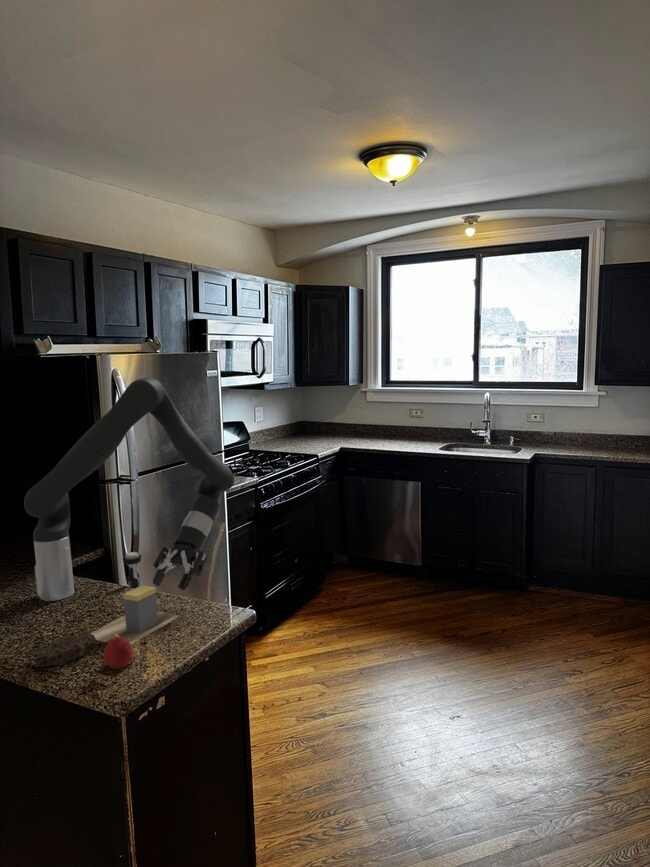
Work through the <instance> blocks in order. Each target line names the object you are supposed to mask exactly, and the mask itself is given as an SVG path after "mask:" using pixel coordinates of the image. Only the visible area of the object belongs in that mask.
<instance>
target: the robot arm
mask: <svg viewBox="0 0 650 867" xmlns="http://www.w3.org/2000/svg"><path fill="white" fill-rule="evenodd" d="M148 413H150V415H152V416H153V417H154V418H155V419H156V421H157V422H158V423H159V424H160V425H161V427H162V428H163V430H164V431H165V433H166V435H167V437H168V438H169V441H170V442H171V444H172V446H173V447H174V449H175V451H176V452H177V453H178V455H179V456H180V457H181V458H182V459H183V461H184V462H185V463H186V465H187V466H188V467H189V468H190V469H192V470H193V471H200V472H201V473H203V475H204V476H203V477H202V479H201V481H200V482H199V483H200V484H199V486H198V488H197V493H196V496H195V497H196V498H195V500H194V502H193V504H192V505H191V508H190V509H189V512H188V514H187V515H186V516H185V518H184V519H183V522H182V525H181V527H180V528H179V531H178V533H177V535H176V536H175V539H174V546H173V547H171V548H168V547H167V546H162V548H161V550H160V551H159V554H158V556H157V558H156V559H155V561H154V562H153V564H152V566H153V567H154V568H155V569H156V570H157V571H156V573H155V574H154V577H153V579H152V584H153V585H154V587H157V588H159V587H160V586H161V585H162V582H163V580H164V578H165V575H166V573H167V572H169V571H170V570H172V569H174V568H175V567H177V568H179V567H180V568H183V569H184V573H183V574H182V577H181V578H180V581H179V583H178V585H177V586H178V589H179V590H181V591H186V589H187V588H188V587H189V585H190V582H191V580H192V578H193V577H195V576H196V577H200V576H201V574H202V572H203V568H204V566H205V564H206V562H207V559H208V555H206V553H205V552H204V551H203V547H204V545H205V542H206V541H207V538H208V536H209V534H210V532H211V529H212V525H213V523H214V520H215V518H216V517H217V515H218V511H219V509H220V503H219V499H220V497H221V495H222V494H223V493H225V492H228V491H229V490H230V489H231V488H232V487H234V483H235V476H234V474H233V472H232V470H231V468H230V467H229V466H228V465H227V464H225V463H224V462H223V461H222V460H221V459H220V458H218V457H217V456H215V455H214V454H212V452H210V450H209V448H207V447H206V445H205V444H204V443H203V442H202V440H201V439H200V438H199V437H198V436H197V435H196V433H195V432H194V431H193V430H192V428H191V427H190V426H189V425H188V423H187V422H186V421H185V419H184V418H183V417H182V415H181V414H180V412H179V411H178V409H177V408H176V406H175V404H174V403H173V401H172V400H171V398H170V396H169V395H168V393H167V391H166V389H165V388H164V386H163V384H162V382H160V381H159V380H157V379H156V378H153V377H149V376H148V377H142V378H138V379H136V380H134V381H132V382H131V383H129V385H128V386H127V387H126V389H125V390H124V391H123V392H122V394H121V395H120V397H119V398H118V399H117V401H116V402H115V403H114V404H113V406H112V407H111V408H110V410H108V411H107V413H105V414H104V415H103V416H102V417H100V419H98V420H97V421H96V422H95V423H94V424H93V425H92V426H91V427H90V428H89V429H88V430H87V431H85V432H84V434H83V435H81V437H80V438H79V439H78V440H77V441H76V442H75V444H74V445H73V446H72V447H71V448H70V449H69V450H68V451H67V452H66V453H65V454H64V456H63V457H62V458H61V459H60V461H59V462H58V463H57V464H56V466H55V467H54V468H52V469H51V471H49V472H48V473H47V474H46V475H45V476H44V477H43V478H41V479H40V480H39V481H38V482H37V483H36V484H34V485H33V486H32V487H31V488H29V489H28V491H27V492H26V494H25V496H24V499H23V507H24V510H25V512H26V514H28V515H29V516H31V517H34V518H38V522H37V525H36V527H35V528H34V529H33V531H32V532H33V533H32V536H33V537H32V538H33V545H34V546H33V548H34V554H35V555H34V557H35V565H34V574H35V582H36V583H35V584H36V585H35V586H36V593H37V597H38V596H39V597H38V598H39V600H40V599H41V600H40V601H42V600H44V601H43V602H54V601H60V600H63V599H66V598H69V597H71V596H73V595H74V594H75V587H74V585H75V584H74V574H73V564H72V553H71V543H70V542H71V541H70V534H69V533H70V532H69V529H70V526H71V506H70V505H71V504H70V497H69V492H70V491H71V489H72V488H74V487H75V486H76V485H78V483H80V482H82V481H83V480H85V478H87V477H88V476H90V475H91V474H93V473H94V472H95V471H96V470H98V469H99V468H100V467H101V466H102V465H104V464H105V463H106V461H107V460H108V459H109V458H110V457H111V456H112V455H113V454H114V453H115V452H116V450H117V449H118V447H119V446H120V445H121V443H122V441H123V440H124V438H125V436H126V435H127V433H128V432H129V431H130V429H131V428H132V427H133V426H135V425H136V423H137V424H138V422H139V421H140V420H141V419H143V418H144V417H145V415H147V414H148Z"/></svg>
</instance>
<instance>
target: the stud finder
mask: <svg viewBox="0 0 650 867" xmlns="http://www.w3.org/2000/svg"><path fill="white" fill-rule="evenodd" d="M156 588H157V587H156V586H149V585H141V584H140V586H139V587H137V588H132V589H130V590H129V591H126V592H125V593H122V598H123V605H124V606H123V607H124V608H123V609H124V616H125V619H126V631H131V632H135V633H142V632H144V631H146V630H147V629H149V628H151V627H153V626H154V625H156V624H158V616H157V612H158V607H157V606H158V605H157V604H158V603H157V593H156V592H157V590H156Z"/></svg>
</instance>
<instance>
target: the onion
mask: <svg viewBox="0 0 650 867" xmlns="http://www.w3.org/2000/svg"><path fill="white" fill-rule="evenodd" d="M102 654H103V655H102V656H103V661H104V663H105V665H107V666H108V667H109V668H111V669H113V670H119V669H124V668H125V667H127V666H128V665H129V664H130V663H131V661H132V659H133V646H132V644H130V643H129V642H128V641H127V640H126V639H124V638H122V637H120V636H118V635H116V634H115V635H113V639H112V640H111V641H110V642H109V643H107V644H106V645H105V647H104V648H103V653H102Z"/></svg>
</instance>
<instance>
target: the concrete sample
mask: <svg viewBox="0 0 650 867" xmlns="http://www.w3.org/2000/svg"><path fill="white" fill-rule="evenodd" d="M90 633H91V632H84V633H80V634H79V635H72V636H66V637H62V638H59V639H58V640H56V641H54V642H52V644H50V645H47V646H46V647H45V648H44V649H42V650H41V651H40V652H39V653H38V654H36V656H35V658H34V660H33V662H34V666H35V668H39V667H42V668H43V667H48V666H49V667H51V666H64V664H66V663H68V662H70V661H75V660H77V659H79V658H81V657H82V656H83V655H85V654H86V653H88V652H90V651H91V650H92V649H94V648H95V645H96V644H97V640H96V638H95V636H94V635H92V634H90Z"/></svg>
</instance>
